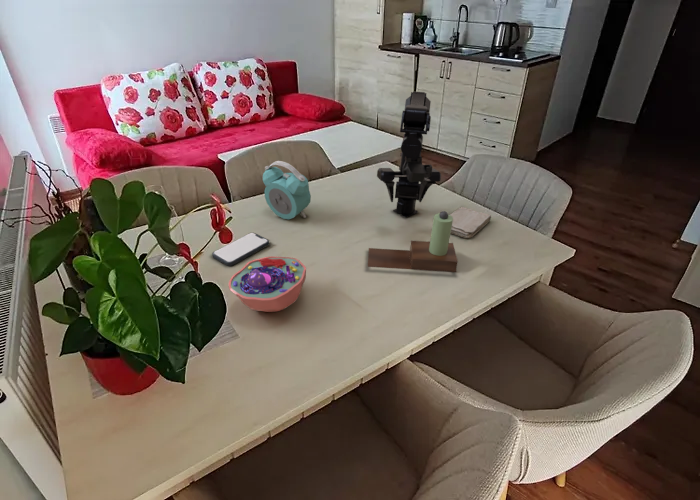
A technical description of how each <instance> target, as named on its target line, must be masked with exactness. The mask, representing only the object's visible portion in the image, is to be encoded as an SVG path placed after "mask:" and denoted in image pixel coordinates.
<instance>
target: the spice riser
mask: <svg viewBox="0 0 700 500" xmlns="http://www.w3.org/2000/svg"><path fill="white" fill-rule="evenodd" d="M429 246H430V241H426V240H425V241H424V240H410V246H409V250H408V249H390V248H375V247H374V248H373V247H368V254H367V268H381V269H396V270H400V269H401V270H413V271H414V270H415V271H432V272H448V273H457V268H458V263H459V261H458V258H457V253H456V249H455V246H454V243H453V242H449V245H448V250H447V254H445V255H443V256H437V255H433V254H432V253H430V251H429Z"/></svg>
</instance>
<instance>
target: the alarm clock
mask: <svg viewBox="0 0 700 500" xmlns="http://www.w3.org/2000/svg"><path fill="white" fill-rule="evenodd" d="M275 165H276V166H275ZM277 166H279V167H283V168H285V169H286V170H289V171H290V172H284V171H283V170H282V169H281V168H279V167H277ZM263 170H264V172H263V173H262V182H263V184H264V186H265V188H264V198H265V202H266V205H268V208H270V210H271V211H272V212H273V213H274V214H275V216H277V217H279V218H281V219H282V220H291V219H294V218H295V217H296V216H298V215H299V216H301V218H304V219H305V218H307V215H306V213H305V212H304V210H305V209H306V208H308V207H309V205H310V203H311V198H312V195H311V191H310V184H309V180H308V178H307V177H306V176H305V175H304V174H302V173H300V172H299V171H298V169H296V167H294V166H293V165H292V164H291V163H288V162H286V161H282V160H276V161H274V162H272V163H271V164H269V165H266V166H264V169H263Z"/></svg>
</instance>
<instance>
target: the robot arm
mask: <svg viewBox="0 0 700 500" xmlns="http://www.w3.org/2000/svg"><path fill="white" fill-rule="evenodd" d="M404 103H405V104H404V110H402V114H401V121H400V127H399V130H400V131H399V133H402V134H403V133H404V134H403V137H402V142H401V145H400V150H401V152H400V165H399V166H398V170H399V171H398V170H393V169H392V168H391V167H379V168H377V171H376V177H377V178H378V180H380V181H381V182H383V183H384V184H385V186H386V189H387V193H388V196H389V200H390V202H391V203H393V202H394V198H395V199H397V202H396V208H394V209H393V213H396V214H397V215H399V216H402V217H403V218H405V219H408V218H409V217H412V216H414V215H416V214H418V213H419V210H416V202H417V201H418V202H419V203H422V201H423V199H424V197H425V196H426V194H427V192H428V190H429V188H430V187H431V186H433V185H435V184H437V183H438V182H441V179H442V173H441V172H440V171H439V170H437V169H436V168H433V166H432V164H423V156H422V149H423V142H424V141H423V140H424V136H423V135H428V132H430V129H431V128H430V127H431V121H432V120H431V119H432V117H431V113H430V111H431V100H430V99H429V98H428V97H427V92H425V91H411V92H410V96H409V97H407V98H406V99H405V102H404ZM396 178H397V179H398V181H394V180H395V179H396ZM394 187H395V189H394ZM394 190H395V191H394Z"/></svg>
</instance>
